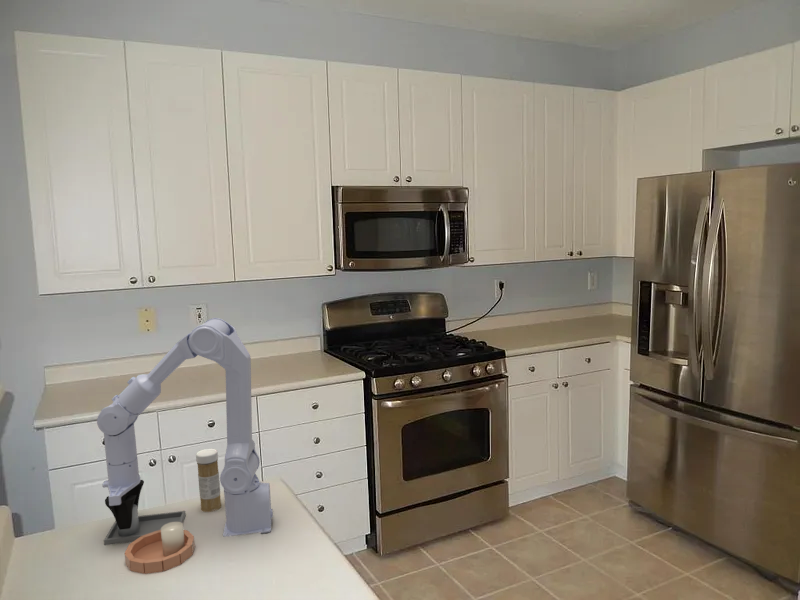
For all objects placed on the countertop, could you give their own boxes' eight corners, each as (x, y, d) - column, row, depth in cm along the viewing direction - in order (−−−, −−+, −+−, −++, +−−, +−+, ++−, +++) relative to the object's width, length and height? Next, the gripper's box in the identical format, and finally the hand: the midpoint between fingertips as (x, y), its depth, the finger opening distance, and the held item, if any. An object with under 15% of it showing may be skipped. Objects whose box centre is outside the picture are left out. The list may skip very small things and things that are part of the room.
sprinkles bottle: (216, 502, 135) (212, 446, 133) (225, 509, 132) (220, 451, 130) (197, 509, 132) (192, 451, 131) (204, 516, 129) (200, 457, 127)
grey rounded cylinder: (141, 525, 125) (139, 503, 124) (136, 535, 121) (134, 511, 120) (121, 527, 124) (119, 505, 123) (116, 537, 120) (113, 514, 119)
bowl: (198, 537, 120) (197, 525, 120) (188, 570, 108) (187, 557, 108) (135, 544, 118) (134, 532, 118) (119, 579, 106) (117, 566, 106)
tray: (185, 517, 129) (185, 510, 128) (178, 538, 120) (177, 531, 120) (117, 525, 126) (116, 518, 126) (104, 547, 117) (103, 540, 117)
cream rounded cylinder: (186, 544, 116) (184, 520, 115) (183, 555, 112) (181, 530, 111) (165, 547, 115) (163, 523, 114) (160, 558, 111) (158, 533, 111)
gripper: (111, 448, 127) (117, 508, 128) (89, 476, 113) (96, 543, 114) (146, 445, 128) (151, 504, 130) (128, 472, 114) (134, 538, 116)
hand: (128, 522), depth 122 cm, fingers closed on grey rounded cylinder, 4 cm apart
